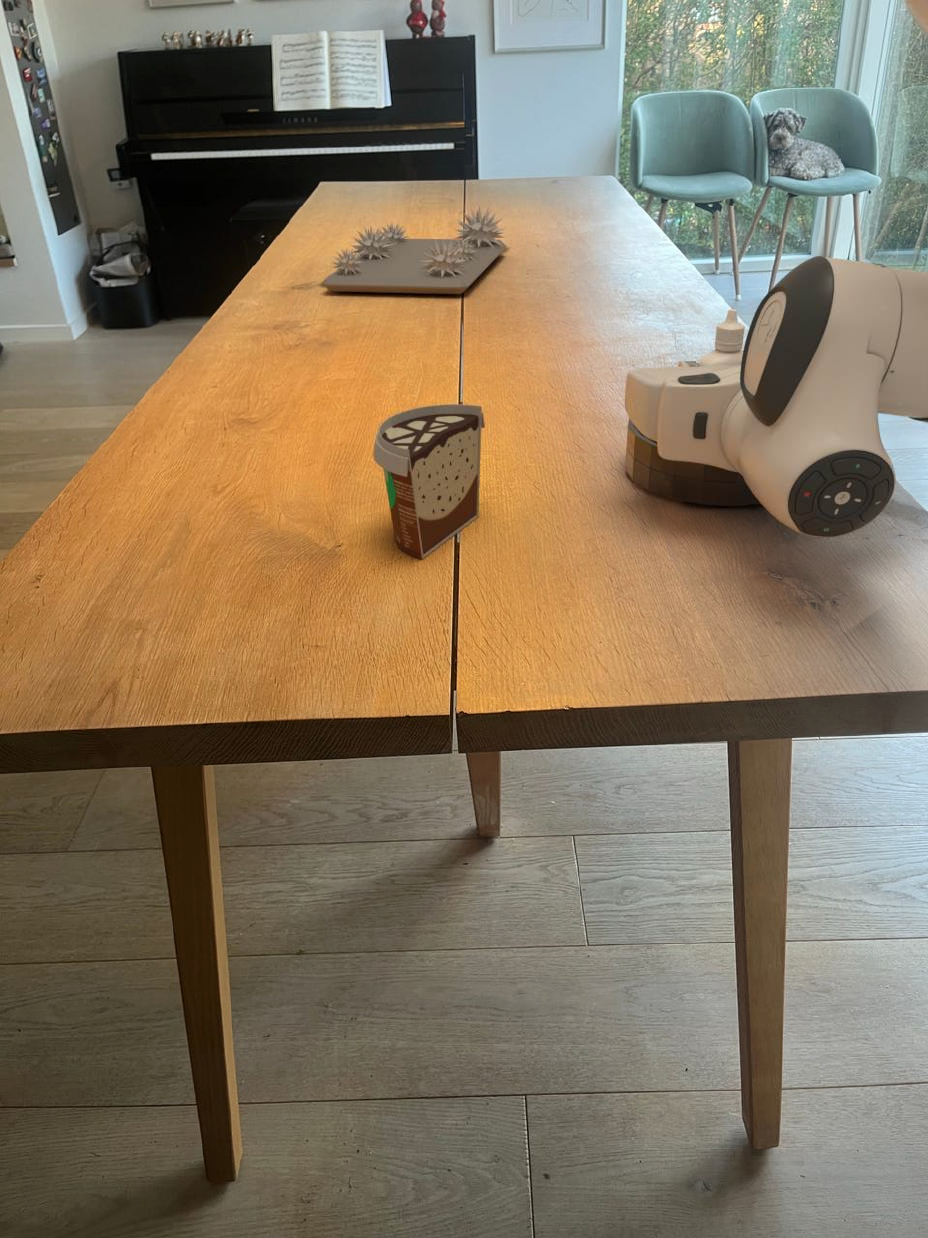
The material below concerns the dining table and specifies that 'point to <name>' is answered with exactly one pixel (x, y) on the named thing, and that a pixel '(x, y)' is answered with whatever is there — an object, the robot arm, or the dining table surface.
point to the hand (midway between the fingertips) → (722, 367)
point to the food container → (431, 473)
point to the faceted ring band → (683, 476)
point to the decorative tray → (418, 260)
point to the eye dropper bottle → (726, 343)
